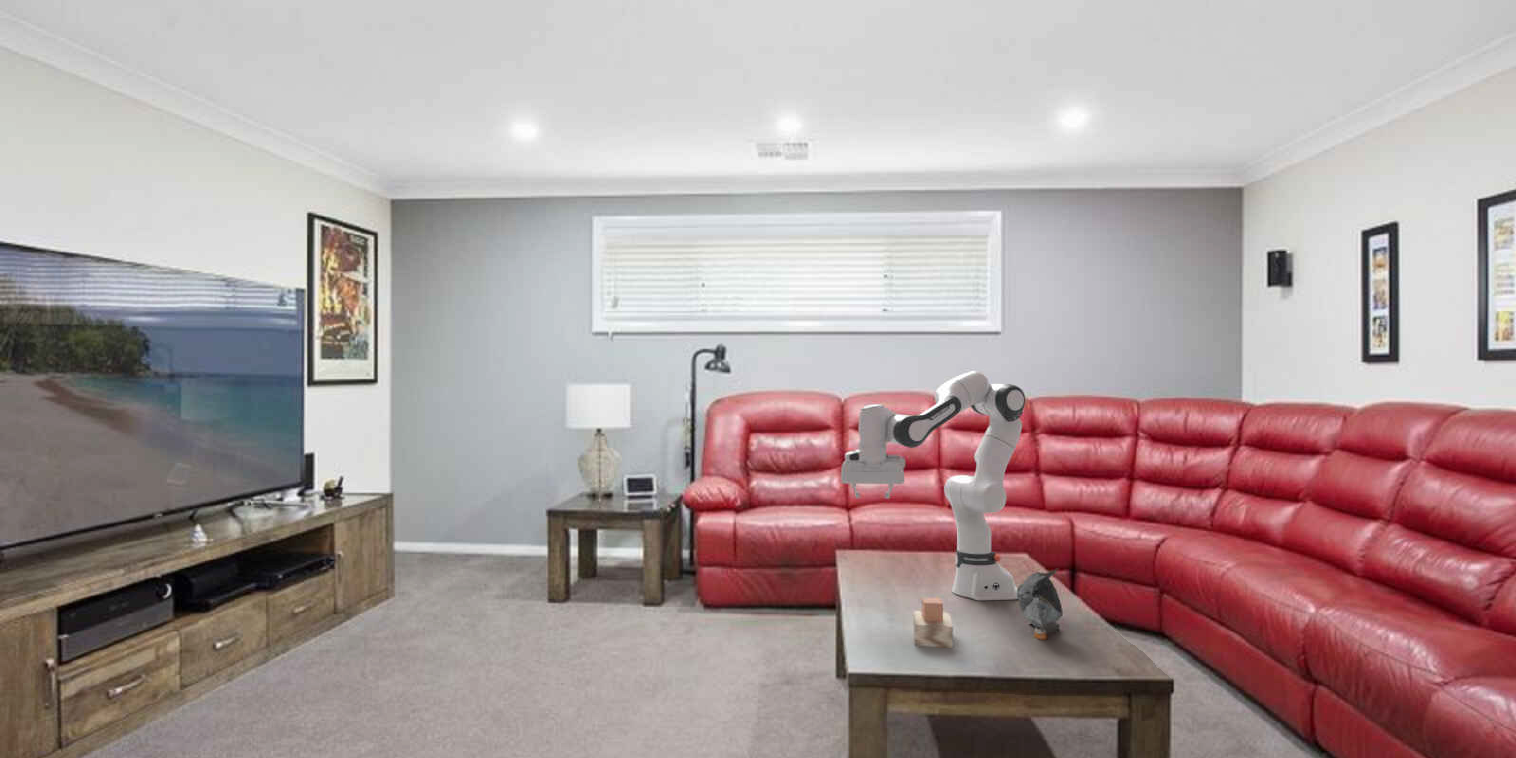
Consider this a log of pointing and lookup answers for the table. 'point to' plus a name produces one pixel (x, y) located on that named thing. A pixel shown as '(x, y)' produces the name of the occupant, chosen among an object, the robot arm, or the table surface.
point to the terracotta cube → (932, 609)
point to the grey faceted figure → (1040, 603)
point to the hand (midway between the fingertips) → (872, 497)
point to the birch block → (933, 631)
